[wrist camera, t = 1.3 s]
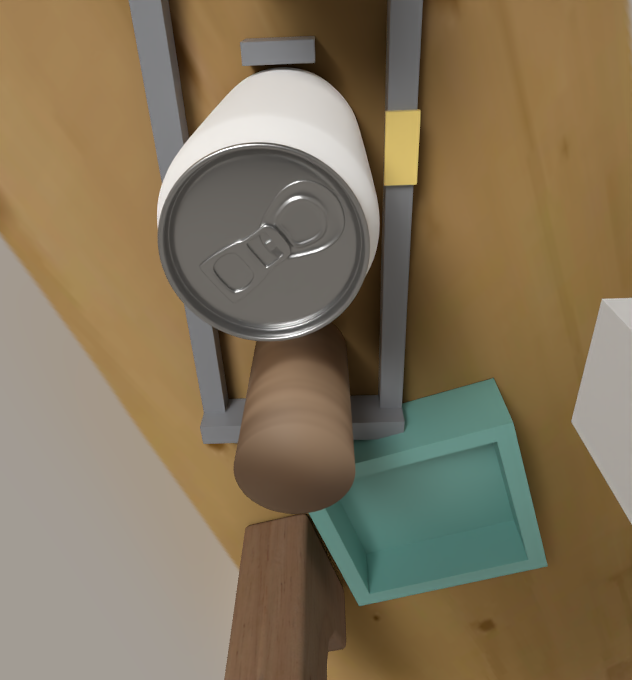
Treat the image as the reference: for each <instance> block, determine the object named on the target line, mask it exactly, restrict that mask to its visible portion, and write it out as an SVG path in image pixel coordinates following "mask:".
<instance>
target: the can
mask: <svg viewBox="0 0 632 680" xmlns="http://www.w3.org/2000/svg"><path fill="white" fill-rule="evenodd" d="M157 224H158V249H159V255H160V260H161V263H162V267H163V270H164V272H165V275H166V277H167V279H168V281H169V283H170V285H171V287H172V288H173V290H174V291H175V293H176V294H177V296H178V297H179V298H180V300H181V301H182V302H183V303H184V304H185V305H186V306H187V307H188V308H189V309H190V310H191V311H192V312H193V313H194V314H195V315H196V316H198V317H199V318H200V319H202V320H203V321H204V322H206V323H207V324H209V325H211V326H212V327H214V328H216V329H218V330H220V331H222V332H225V333H227V334H230V335H233V336H236V337H239V338H243V339H248V340H254V341H269V342H270V341H284V340H290V339H295V338H299V337H302V336H305V335H308V334H310V333H313V332H315V331H317V330H319V329H321V328H323V327H324V326H326V325H328V324H329V323H331V322H332V321H333V320H335V319H336V318H337V317H338V316H339V315H340V314H341V313H342V312H343V311H344V310H345V309H346V308H347V307H348V306H349V305H350V304H351V302H352V301H353V300H354V298H355V297H356V295H357V293H358V292H359V290H360V288H361V286H362V283H363V281H364V278H365V276H366V274H367V273H368V271H369V269H370V267H371V264H372V262H373V259H374V256H375V253H376V249H377V245H378V239H379V227H380V217H379V207H378V201H377V195H376V191H375V187H374V182H373V178H372V174H371V170H370V167H369V163H368V159H367V155H366V151H365V148H364V144H363V140H362V137H361V133H360V129H359V126H358V123H357V120H356V117H355V115H354V113H353V111H352V109H351V107H350V106H349V104H348V103H347V101H346V100H345V99H344V97H343V96H342V95H341V94H340V93H339V92H338V91H337V90H336V89H335V88H334V87H333V86H332V85H331V84H329V83H328V82H327V81H326V80H324V79H323V78H321V77H320V76H318V75H316V74H314V73H311V72H309V71H306V70H302V69H298V68H291V67H278V68H271V69H267V70H263V71H260V72H258V73H255V74H253V75H251V76H249V77H248V78H246V79H244V80H243V81H242V82H240V83H239V84H238V85H237V86H236V87H234V88H233V89H232V90H231V91H230V92H229V93H228V95H227V96H226V97H225V98H224V99H223V100H222V101H221V102H220V103H219V104H218V106H217V107H216V108H215V109H214V110H213V111H212V112H211V114H210V115H209V116H208V117H207V118H206V119H205V120H204V122H203V123H202V124H201V125H200V126H199V127H198V129H197V130H196V131H195V132H194V133H193V134H192V136H191V137H190V138H189V139H188V140H187V142H186V143H185V144H184V145H183V147H182V148H181V149H180V151H179V152H178V154H177V155H176V156H175V158H174V159H173V161H172V163H171V165H170V166H169V168H168V171H167V173H166V175H165V178H164V180H163V183H162V186H161V190H160V194H159V199H158V206H157Z"/></svg>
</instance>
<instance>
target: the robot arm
mask: <svg viewBox="0 0 632 680" xmlns="http://www.w3.org/2000/svg"><path fill="white" fill-rule="evenodd" d="M571 422H572V424H573V426H574V427H575V429H576V431H577V432H578V434H579V436H580V437H581V439H582V441H583V442H584V444H585V446H586V448H587V449H588V451H589V453H590V454H591V456H592V458H593V459H594V461H595V463H596V465H597V466H598V468H599V470H600V471H601V473H602V475H603V476H604V478H605V480H606V482H607V483H608V485H609V487H610V488H611V490H612V492H613V493H614V495H615V497H616V499H617V500H618V502H619V504H620V505H621V507H622V509H623V510H624V512H625V514H626V516H627V517H628V519H629V521H630V522H631V524H632V298H616V299H602V301H601V305H600V309H599V313H598V317H597V321H596V325H595V329H594V333H593V337H592V341H591V345H590V349H589V353H588V357H587V361H586V365H585V369H584V373H583V377H582V381H581V385H580V389H579V393H578V397H577V401H576V405H575V409H574V413H573V417H572V421H571Z"/></svg>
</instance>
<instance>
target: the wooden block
mask: <svg viewBox="0 0 632 680" xmlns="http://www.w3.org/2000/svg"><path fill="white" fill-rule="evenodd" d="M345 646H346V622H345V597H344V590H343V588H342V586H341V584H340V582H339V580H338V578H337V576H336V574H335V572H334V569H333V567H332V565H331V563H330V561H329V559H328V557H327V555H326V553H325V551H324V549H323V547H322V545H321V543H320V541H319V539H318V537H317V535H316V532H315V530H314V528H313V526H312V524H311V522H310V520H309V518H308V516H307V515H306V514H298V515H294V516H289V517H285V518H280V519H275V520H271V521H266V522H262V523H257V524H253V525H249V526H248V527H246V529H245V535H244V542H243V549H242V557H241V564H240V571H239V578H238V585H237V593H236V600H235V607H234V614H233V622H232V629H231V637H230V643H229V651H228V657H227V665H226V672H225V679H224V680H327V656H328V652H329V651H335V650H341V649H343V648H345Z"/></svg>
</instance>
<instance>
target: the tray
mask: <svg viewBox="0 0 632 680" xmlns="http://www.w3.org/2000/svg"><path fill="white" fill-rule="evenodd" d="M402 411H403V416H404V432H403V433H399V434H395V435H392V436H388V437H384V438H380V439H374V440H353V441H354V455H355V478H354V482H353V484H352V486H351V488H350V490H349V491H348V492H347V494H346V495H345V496H344V497H343V498H342V499H341V500H339V501H338V502H336V503H335V504H333V505H331V506H330V507H327V508H325V509H322V510H319V511H316V512H311V513H309V515H310V516H311V518H312V520H313V522H314V524H315V526H316V527H317V529H318V531H319V533H320V535H321V537H322V538H323V540H324V542H325V544H326V546H327V548H328V550H329V551H330V553H331V555H332V557H333V559H334V561H335V562H336V564H337V566H338V568H339V570H340V572H341V573H342V575H343V577H344V579H345V581H346V583H347V585H348V586H349V588H350V590H351V592H352V594H353V596H354V597H355V599H356V601H357V603H358V605H359V606H363V605H367V604H372V603H377V602H381V601H386V600H391V599H396V598H400V597H405V596H410V595H414V594H419V593H424V592H428V591H433V590H438V589H443V588H447V587H452V586H457V585H461V584H466V583H471V582H476V581H480V580H485V579H490V578H494V577H499V576H504V575H509V574H513V573H518V572H523V571H527V570H532V569H537V568H542V567H546V566H548V565H547V561H546V557H545V553H544V549H543V545H542V540H541V536H540V532H539V528H538V524H537V520H536V515H535V511H534V507H533V503H532V499H531V495H530V490H529V486H528V482H527V478H526V474H525V470H524V465H523V461H522V457H521V453H520V449H519V445H518V440H517V436H516V432H515V428H514V424H513V421H512V419H511V416H510V414H509V412H508V410H507V407H506V405H505V403H504V401H503V398H502V396H501V394H500V391H499V389H498V387H497V385H496V382H495V380H494V378H492V379H489V380H485V381H482V382H478V383H474V384H471V385H467V386H464V387H460V388H456V389H453V390H449V391H446V392H442V393H438V394H435V395H431V396H428V397H424V398H420V399H417V400H413V401H410V402H406V403H403V404H402Z"/></svg>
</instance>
